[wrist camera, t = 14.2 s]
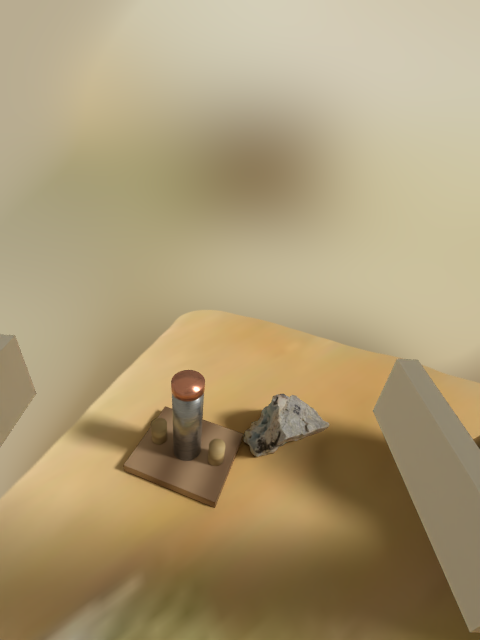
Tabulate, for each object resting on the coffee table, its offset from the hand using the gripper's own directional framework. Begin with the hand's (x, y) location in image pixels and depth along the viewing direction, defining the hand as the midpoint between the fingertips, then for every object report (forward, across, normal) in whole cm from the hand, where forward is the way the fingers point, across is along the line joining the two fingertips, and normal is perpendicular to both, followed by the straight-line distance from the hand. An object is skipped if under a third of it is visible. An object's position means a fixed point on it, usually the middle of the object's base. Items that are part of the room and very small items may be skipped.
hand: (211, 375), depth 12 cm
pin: (+17, -3, -30) cm, 35 cm away
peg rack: (+17, -3, -31) cm, 36 cm away
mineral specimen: (+20, +10, -31) cm, 39 cm away
